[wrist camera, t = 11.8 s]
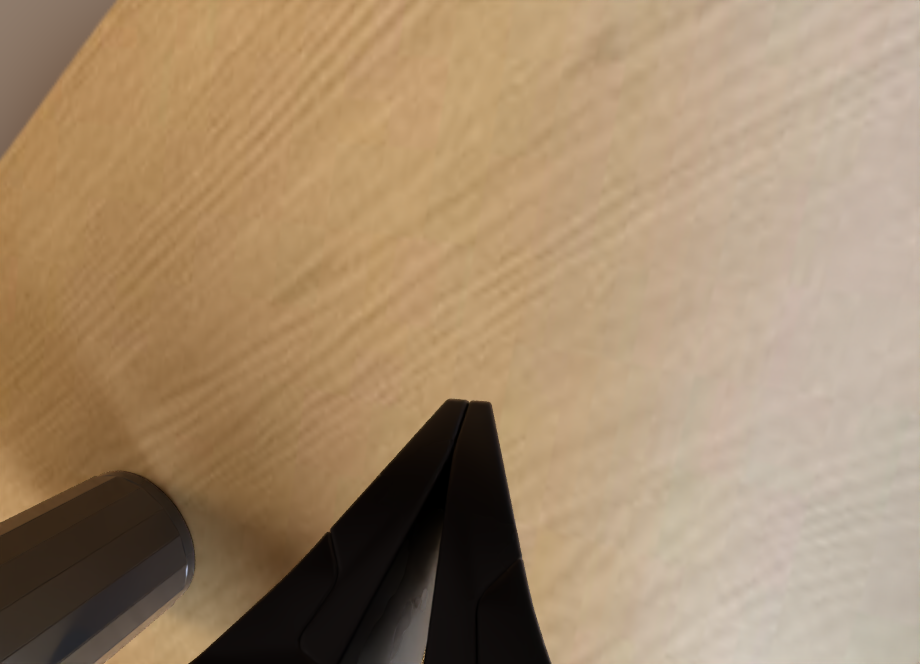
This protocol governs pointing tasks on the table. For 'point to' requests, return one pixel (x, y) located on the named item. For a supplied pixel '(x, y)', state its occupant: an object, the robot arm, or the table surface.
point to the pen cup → (90, 570)
